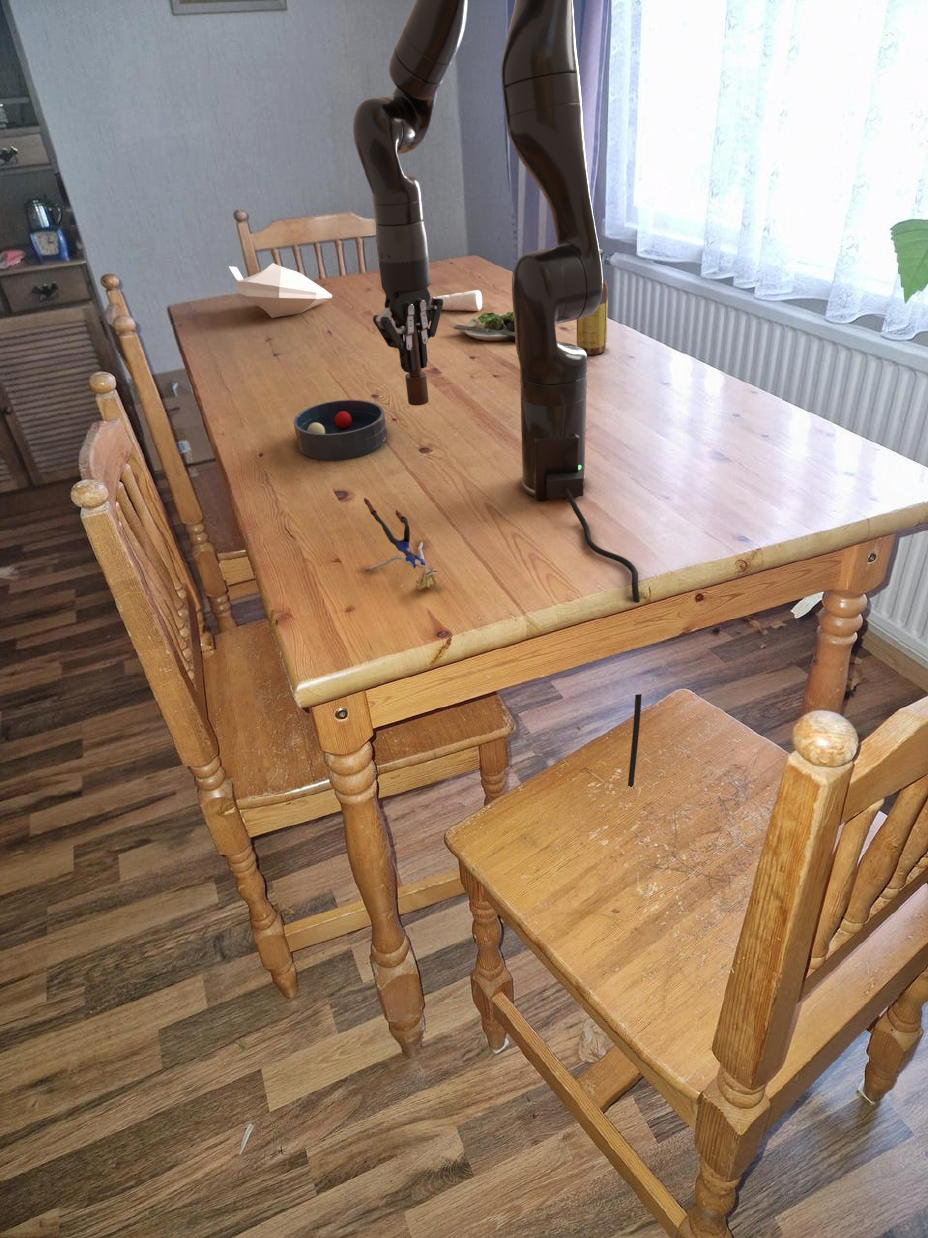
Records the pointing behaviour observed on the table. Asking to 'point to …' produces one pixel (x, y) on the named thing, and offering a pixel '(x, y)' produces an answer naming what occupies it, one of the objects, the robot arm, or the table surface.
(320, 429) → the cream ball
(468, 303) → the unicorn horn
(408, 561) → the figurine
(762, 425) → the table surface
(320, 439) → the bowl
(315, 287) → the white faceted piece
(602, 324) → the sauce bottle
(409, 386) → the brown stepped wooden peg
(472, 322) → the salad plate
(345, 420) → the red ball
